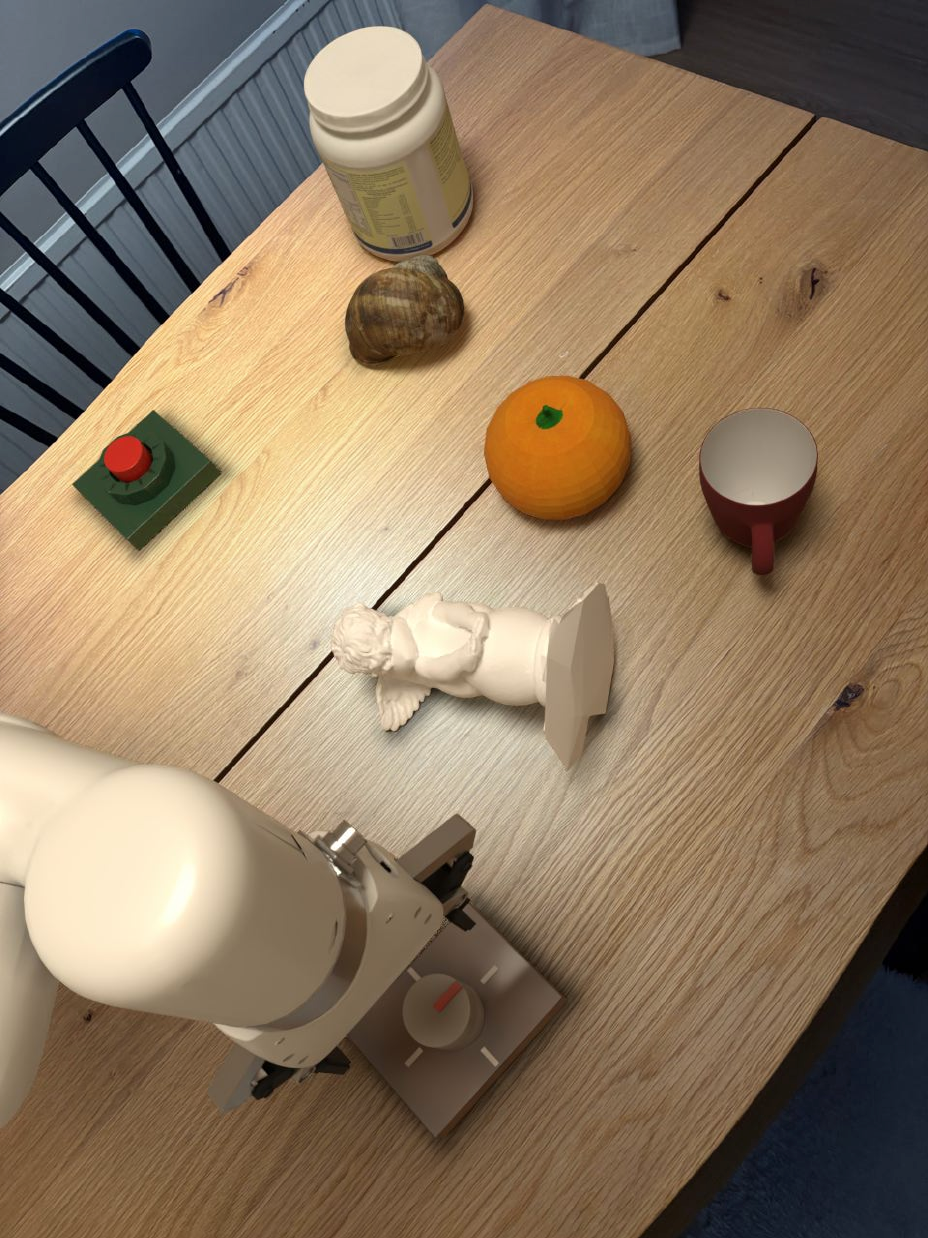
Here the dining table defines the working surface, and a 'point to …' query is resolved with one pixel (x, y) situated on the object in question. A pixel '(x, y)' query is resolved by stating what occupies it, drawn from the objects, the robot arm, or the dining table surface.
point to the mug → (758, 478)
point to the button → (127, 459)
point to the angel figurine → (486, 659)
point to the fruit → (557, 447)
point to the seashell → (403, 311)
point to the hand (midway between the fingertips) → (392, 977)
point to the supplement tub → (388, 143)
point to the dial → (443, 1012)
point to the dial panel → (511, 1022)
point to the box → (149, 482)
